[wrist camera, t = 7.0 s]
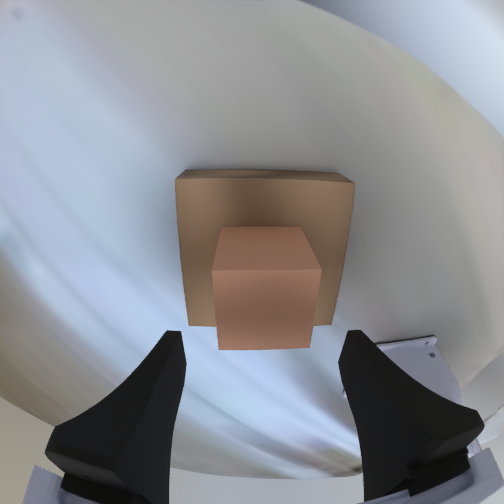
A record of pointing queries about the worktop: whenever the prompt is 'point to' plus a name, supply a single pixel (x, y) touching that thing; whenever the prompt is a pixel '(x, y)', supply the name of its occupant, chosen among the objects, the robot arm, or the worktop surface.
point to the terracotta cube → (264, 288)
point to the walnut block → (260, 225)
